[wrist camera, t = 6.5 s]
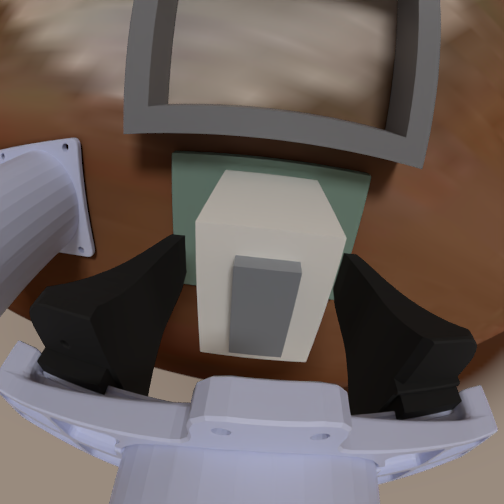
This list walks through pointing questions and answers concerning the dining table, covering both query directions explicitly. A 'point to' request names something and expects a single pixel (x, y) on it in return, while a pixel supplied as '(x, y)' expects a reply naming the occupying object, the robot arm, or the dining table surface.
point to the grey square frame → (283, 121)
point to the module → (265, 265)
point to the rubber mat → (214, 165)
